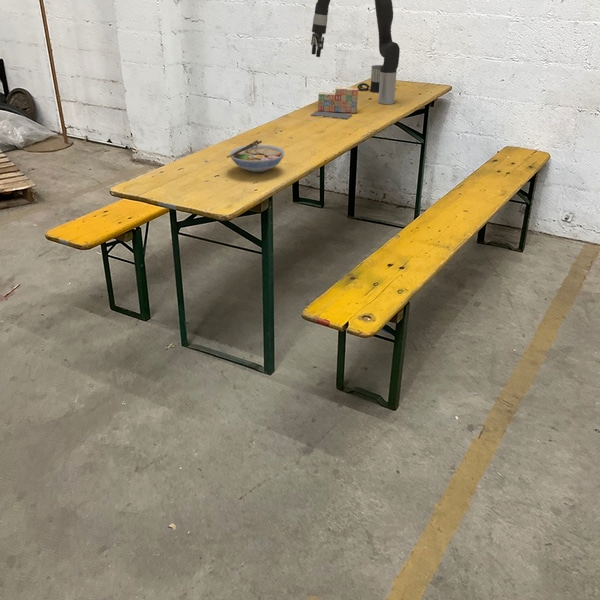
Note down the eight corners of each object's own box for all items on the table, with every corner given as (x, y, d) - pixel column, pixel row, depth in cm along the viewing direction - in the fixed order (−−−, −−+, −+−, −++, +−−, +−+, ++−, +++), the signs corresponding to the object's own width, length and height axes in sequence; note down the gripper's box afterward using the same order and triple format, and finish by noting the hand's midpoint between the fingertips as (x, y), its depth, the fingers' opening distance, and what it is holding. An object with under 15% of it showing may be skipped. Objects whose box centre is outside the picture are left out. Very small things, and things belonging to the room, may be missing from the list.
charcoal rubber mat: (316, 112, 343) (316, 111, 342) (352, 115, 335) (352, 114, 335) (310, 115, 335) (310, 114, 335) (347, 119, 328) (347, 118, 328)
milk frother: (386, 92, 386) (388, 67, 379) (362, 93, 383) (363, 68, 375) (379, 87, 398) (380, 63, 391) (355, 89, 395) (356, 64, 387)
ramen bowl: (265, 183, 243) (264, 162, 239) (217, 174, 253) (216, 154, 249) (296, 165, 262) (296, 146, 258) (251, 157, 272) (250, 139, 268)
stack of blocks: (317, 111, 341) (318, 88, 335) (318, 109, 346) (319, 86, 341) (356, 113, 339) (358, 89, 334) (357, 110, 345) (358, 87, 339)
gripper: (330, 26, 327) (326, 58, 335) (322, 22, 339) (318, 53, 347) (317, 24, 325) (312, 57, 333) (309, 21, 336) (305, 52, 344)
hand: (315, 55), depth 340 cm, fingers open, 8 cm apart
